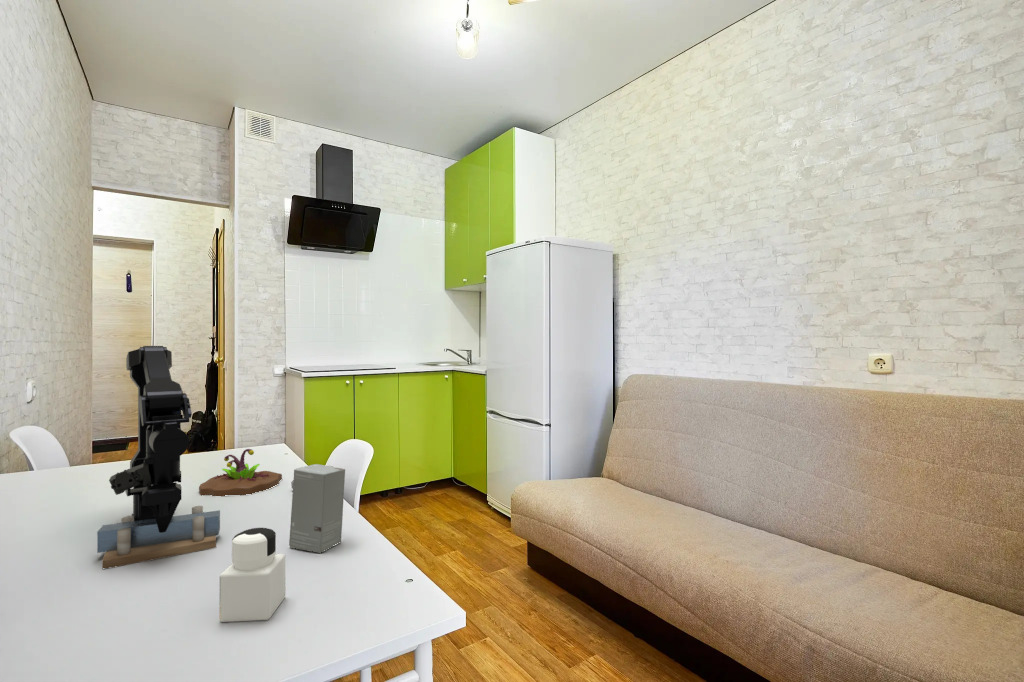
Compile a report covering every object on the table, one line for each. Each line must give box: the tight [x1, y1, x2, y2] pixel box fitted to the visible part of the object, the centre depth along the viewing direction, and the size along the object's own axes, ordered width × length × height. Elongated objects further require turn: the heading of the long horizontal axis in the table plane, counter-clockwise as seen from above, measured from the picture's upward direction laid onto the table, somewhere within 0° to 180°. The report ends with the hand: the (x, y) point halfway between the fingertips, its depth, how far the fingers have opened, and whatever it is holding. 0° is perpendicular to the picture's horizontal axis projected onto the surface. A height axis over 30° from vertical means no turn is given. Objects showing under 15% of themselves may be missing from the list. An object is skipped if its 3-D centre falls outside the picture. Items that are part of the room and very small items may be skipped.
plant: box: [198, 448, 283, 497], centre depth 147 cm, size 20×20×11 cm
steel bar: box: [96, 509, 221, 554], centre depth 102 cm, size 20×4×4 cm, turn 116°
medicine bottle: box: [219, 527, 286, 623], centre depth 78 cm, size 7×7×12 cm
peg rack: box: [101, 505, 217, 570], centre depth 103 cm, size 12×18×6 cm, turn 123°
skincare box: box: [288, 463, 346, 554], centre depth 104 cm, size 8×7×16 cm
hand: (163, 527), depth 103 cm, fingers open, 6 cm apart
